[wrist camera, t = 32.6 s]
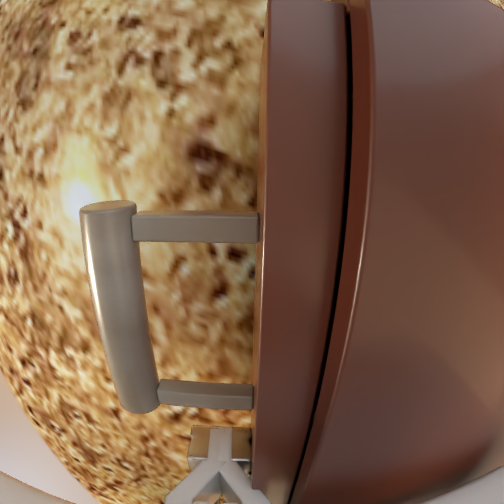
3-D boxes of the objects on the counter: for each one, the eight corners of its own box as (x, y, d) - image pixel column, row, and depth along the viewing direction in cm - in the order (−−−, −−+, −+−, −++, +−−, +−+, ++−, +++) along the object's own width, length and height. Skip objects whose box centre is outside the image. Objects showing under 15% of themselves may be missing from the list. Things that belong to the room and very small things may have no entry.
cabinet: (275, 400, 14) (285, 537, 7) (293, 68, 10) (359, -52, 2) (493, 369, 14) (552, 444, 7) (547, 138, 10) (650, 158, 2)
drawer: (162, 398, 13) (131, 499, 8) (136, 82, 9) (33, 34, 3) (481, 376, 13) (529, 440, 8) (538, 140, 9) (626, 155, 3)
